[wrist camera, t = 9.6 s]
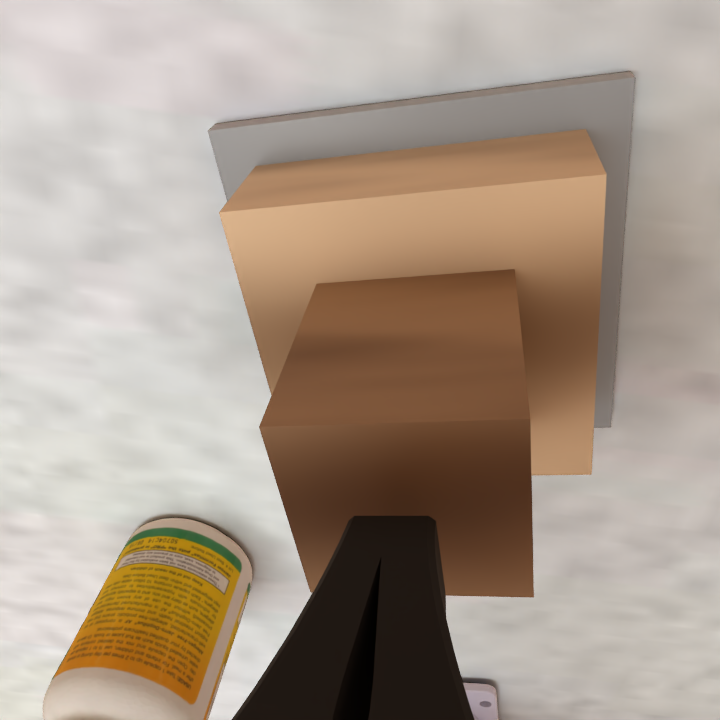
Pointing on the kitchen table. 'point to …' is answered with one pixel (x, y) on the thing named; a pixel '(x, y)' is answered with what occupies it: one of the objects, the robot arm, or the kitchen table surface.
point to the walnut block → (410, 423)
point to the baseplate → (459, 125)
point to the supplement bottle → (156, 629)
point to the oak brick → (443, 253)
